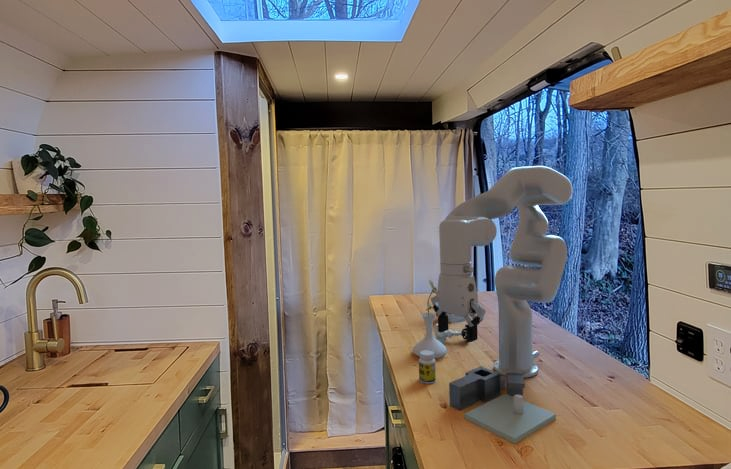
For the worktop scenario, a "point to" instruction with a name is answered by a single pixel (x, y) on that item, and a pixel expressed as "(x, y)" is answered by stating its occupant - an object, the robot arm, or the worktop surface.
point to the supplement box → (454, 318)
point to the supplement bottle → (427, 367)
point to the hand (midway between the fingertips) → (457, 335)
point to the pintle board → (511, 413)
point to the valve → (449, 334)
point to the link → (475, 387)
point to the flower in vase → (430, 333)
